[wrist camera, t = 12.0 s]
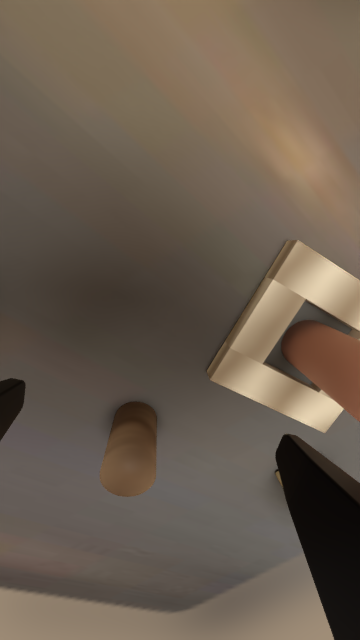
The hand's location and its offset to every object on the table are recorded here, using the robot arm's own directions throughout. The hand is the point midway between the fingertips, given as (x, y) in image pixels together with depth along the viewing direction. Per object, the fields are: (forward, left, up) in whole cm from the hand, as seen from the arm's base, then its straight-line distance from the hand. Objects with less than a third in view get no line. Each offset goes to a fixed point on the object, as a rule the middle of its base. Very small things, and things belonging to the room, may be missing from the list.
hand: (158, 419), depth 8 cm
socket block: (+13, +4, -13) cm, 19 cm away
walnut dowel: (+3, -10, -13) cm, 17 cm away
